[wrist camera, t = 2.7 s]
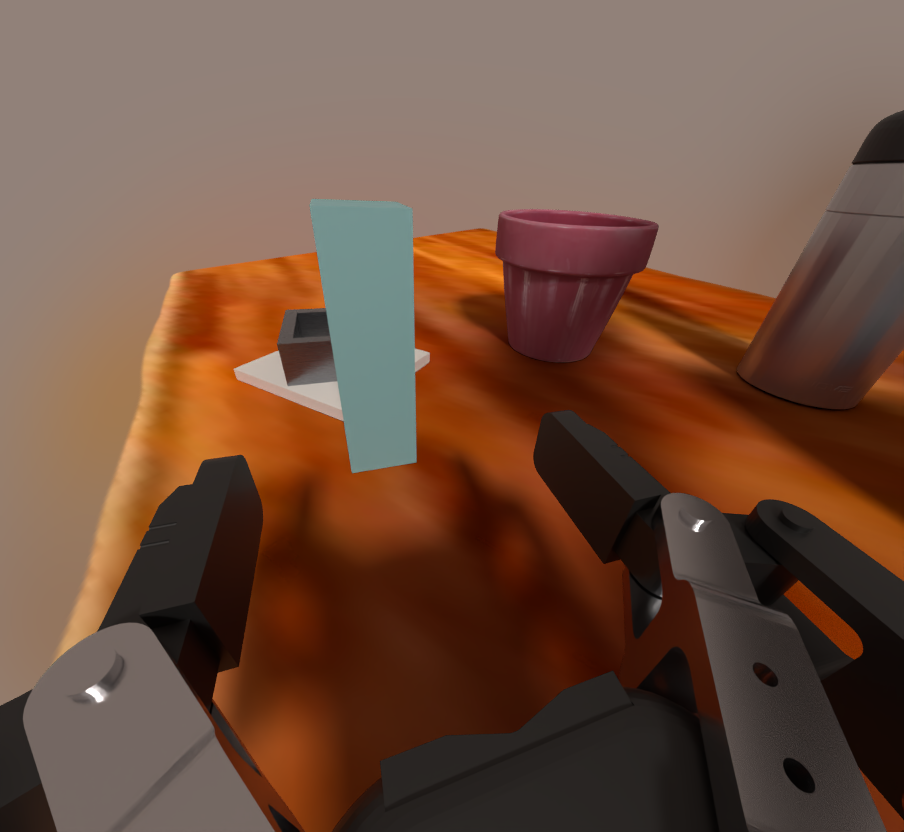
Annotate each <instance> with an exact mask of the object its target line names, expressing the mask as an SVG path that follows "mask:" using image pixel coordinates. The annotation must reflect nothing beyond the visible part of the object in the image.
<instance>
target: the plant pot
mask: <svg viewBox="0 0 904 832" xmlns="http://www.w3.org/2000/svg"><path fill="white" fill-rule="evenodd" d="M657 231H658V224H657V223H655V222H651V221H647V220H642V219H636V218H630V217H624V216H617V215H609V214H601V213H591V212H580V211H563V210H540V209H538V210H537V209H531V210H530V209H529V210H528V209H524V210H508V211H503V212H501V213H500V215H499V220H498V230H497V239H496V251H495V252H496V256H497V257H498V258H499V259H501V260H502V261H503V272H504V291H505V305H506V316H507V327H508V340H509V344H510V346H511V347H512V348H513V349H514V350H516V351H517V352H519V353H521V354H523V355H525V356H528V357H531V358H534V359H538V360H543V361H549V362H572V361H578V360H581V359H583V358H585V357H587V356H588V355H589V354H590V352H591V350H592V349H593V347H594V345H595V343H596V342H597V340H598V338H599V336H600V335H601V333H602V331H603V330H604V328H605V326H606V324H607V322H608V321H609V319H610V317H611V315H612V314H613V312H614V310H615V308H616V306H617V304H618V302H619V301H620V299H621V297H622V295H623V293H624V291H625V289H626V287H627V285H628V283H629V281H630V279H631V278H632V276H633V274H635V273H639V272H641V271H643V270H644V269H645V267H646V265H647V262H648V259H649V257H650V254H651V251H652V248H653V245H654V241H655V238H656V235H657Z"/></svg>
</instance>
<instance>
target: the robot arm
mask: <svg viewBox="0 0 904 832" xmlns="http://www.w3.org/2000/svg"><path fill="white" fill-rule="evenodd" d="M852 164H853V165H851V166H850V167H849V169H848V171H847V173H846V175H845V177H844V178H843V180H842V182H841V184H840V185H839V187H838V189H837V191H836V192H835V194H834V196H833V198H832V199H831V201H830V203H829V205H828V207H827V208H826V211H825V213H824V214H823V216H822V218H821V220H820V221H819V223H818V225H817V227H816V229H815V230H814V232H813V234H812V236H811V237H810V239H809V241H808V243H807V245H806V246H805V248H804V250H803V252H802V253H801V255H800V257H799V259H798V261H797V262H796V264H795V266H794V268H793V269H792V271H791V273H790V275H789V277H788V278H787V280H786V282H785V284H784V286H783V287H782V289H781V291H780V293H779V295H778V296H777V298H776V300H775V302H774V303H773V305H772V307H771V309H770V310H769V312H768V314H767V316H766V318H765V319H764V321H763V323H762V325H761V326H760V328H759V330H758V331H757V333H756V335H755V337H754V338H753V340H752V342H751V344H750V346H749V347H748V349H747V351H746V353H745V355H744V356H743V358H742V360H741V362H740V364H739V365H738V367H737V372H738V374H739V375H740V376H741V377H742V378H743V379H744V380H746V381H747V382H748V383H750V384H752V385H754V386H755V387H757V388H759V389H761V390H764V391H766V392H768V393H770V394H773V395H776V396H778V397H781V398H784V399H787V400H790V401H793V402H797V403H801V404H805V405H809V406H815V407H820V408H828V409H849V408H853V407H855V406H856V405H857V404H858V403H859V402H860V401H861V399H862V398H863V397H864V396H865V395H866V393H867V392H868V391H869V390H870V389H871V387H872V386H873V385H874V384H875V383H876V381H877V380H878V379H879V378H880V377H881V375H882V374H883V373H884V372H885V370H886V369H887V368H888V367H889V366H890V365H891V364H892V363H893V361H894V360H895V359H896V358H897V357H898V355H899V354H900V353H901V352H902V350H903V349H904V111H901V112H897V113H895V114H893V115H890V116H888V117H886V118H884V119H883V120H881V121H880V122H879V123H878V124H876V126H875V127H874V128H873V129H872V130H871V132H870V133H869V134H868V136H867V137H866V139H865V141H864V142H863V144H862V146H861V148H860V150H859V151H858V153H857V155H856V157H855V158H854V160H853V162H852ZM533 458H534V465H535V468H536V470H537V472H538V474H539V475H540V476H541V478H542V479H543V481H544V482H545V483H546V485H547V486H548V488H549V489H550V490H551V492H552V493H553V494H554V496H555V497H556V499H557V500H558V501H559V503H560V504H561V506H562V507H563V508H564V510H565V511H566V512H567V514H568V515H569V517H570V518H571V519H572V521H573V522H574V523H575V525H576V526H577V528H578V529H579V530H580V532H581V533H582V535H583V536H584V537H585V539H586V540H587V541H588V543H589V544H590V546H591V547H592V548H593V550H594V551H595V553H596V554H597V555H598V557H599V558H600V559H601V561H602V562H603V564H606V563H609V562H612V561H616V560H619V559H621V560H622V562H623V563H624V564H625V567H624V569H623V573H622V580H623V602H624V623H625V652H624V657H623V660H622V663H621V668H620V675H619V680H618V678H617V677H616V675H615V673H614V672H613V671H611V672H608V673H605V674H603V675H600V676H598V677H595V678H593V679H590V680H587V681H585V682H582V683H580V684H577V685H575V686H572V687H569V688H567V689H564V690H563V691H562V692H561V693H560V694H558V695H557V696H556V697H555V698H554V699H553V700H552V701H551V702H550V703H548V704H547V705H546V706H545V707H544V708H543V709H542V710H541V711H540V712H538V713H537V714H536V715H535V716H534V717H533V718H532V719H531V720H529V721H528V722H527V723H526V724H525V725H524V726H523V727H522V728H521V729H519V730H518V731H516V732H513V733H505V734H475V735H446V736H443V737H441V738H438V739H436V740H433V741H431V742H428V743H425V744H423V745H420V746H418V747H415V748H413V749H410V750H407V751H405V752H402V753H400V754H397V755H395V756H392V757H389V758H387V759H384V760H382V761H380V765H381V775H382V777H381V778H380V779H379V780H378V781H377V782H375V783H374V784H373V785H372V786H371V787H369V788H368V789H367V790H366V791H365V792H364V793H363V794H362V795H361V796H360V797H359V798H358V799H357V800H356V801H355V802H354V804H353V805H352V806H351V807H350V808H349V810H348V811H347V812H346V813H345V815H344V816H343V817H342V818H341V820H340V821H339V822H338V824H337V825H336V826H335V828H334V830H333V831H332V832H887V831H886V829H885V827H884V824H883V822H882V820H881V818H880V815H879V813H878V811H877V809H876V806H875V804H874V802H873V799H872V797H871V795H870V793H869V790H868V788H867V786H866V784H865V781H864V779H863V777H862V774H861V772H860V770H861V771H862V772H863V773H864V774H865V775H866V777H867V778H868V779H869V780H870V781H871V782H872V784H873V785H874V786H875V787H876V788H877V789H878V791H879V792H880V793H881V794H882V795H883V796H884V798H885V799H886V800H887V801H888V802H889V803H890V805H891V806H892V807H893V808H894V809H895V810H896V811H897V813H898V814H899V815H900V816H901V817H902V818H903V820H904V581H902V580H901V579H900V578H898V577H897V576H896V575H894V574H893V573H891V572H890V571H889V570H887V569H886V568H885V567H883V566H882V565H881V564H879V563H878V562H876V561H875V560H874V559H872V558H871V557H870V556H868V555H867V554H866V553H864V552H863V551H861V550H860V549H859V548H857V547H856V546H855V545H853V544H852V543H851V542H849V541H848V540H846V539H845V538H844V537H842V536H841V535H840V534H838V533H837V532H836V531H834V530H833V529H831V528H830V527H829V526H827V525H826V524H825V523H823V522H822V521H820V520H819V519H818V518H816V517H815V516H813V515H812V514H810V513H809V512H807V511H805V510H803V509H801V508H799V507H797V506H795V505H792V504H789V503H786V502H783V501H779V500H763V501H760V502H759V503H758V504H757V505H756V507H755V508H754V509H753V511H752V512H751V513H750V514H749V515H742V514H729V513H721V512H720V511H719V510H718V509H717V508H715V507H714V506H712V505H711V504H709V503H708V502H706V501H704V500H702V499H700V498H698V497H695V496H692V495H689V494H684V493H670V492H669V491H668V490H667V489H665V488H664V487H663V486H662V485H661V484H660V483H659V482H658V481H657V480H656V479H655V478H653V477H652V476H651V475H650V474H649V473H648V472H647V471H646V470H645V469H644V468H643V467H641V466H640V465H639V464H638V463H637V462H636V461H635V460H634V459H633V458H632V457H628V454H627V453H626V452H625V451H624V450H623V449H622V448H621V447H618V446H617V444H616V443H615V442H614V441H613V440H612V439H611V438H610V437H609V436H608V435H606V434H605V433H604V432H602V431H600V430H598V429H597V428H595V427H593V426H591V425H589V424H586V423H585V422H584V421H583V420H582V419H581V418H580V417H579V416H578V415H577V414H576V413H574V412H573V411H571V410H564V411H557V412H550V413H546V414H544V415H543V417H542V420H541V424H540V428H539V432H538V436H537V441H536V445H535V449H534V456H533ZM262 525H263V509H262V503H261V500H260V497H259V494H258V491H257V489H256V486H255V483H254V480H253V478H252V475H251V472H250V470H249V467H248V464H247V462H246V459H245V458H244V456H242V455H236V456H229V457H222V458H215V459H208V460H204V461H203V462H202V464H201V466H200V468H199V470H198V473H197V475H196V478H195V480H194V482H193V484H191V485H184V486H179V487H178V488H177V489H176V490H175V491H174V492H173V493H172V494H171V495H170V496H169V497H168V498H167V499H166V500H165V501H164V502H163V503H161V504H160V505H159V507H158V509H157V511H156V513H155V515H154V517H153V520H152V522H151V524H150V526H149V531H147V532H146V534H145V536H144V538H143V540H142V542H141V544H140V546H141V548H140V549H139V550H137V552H136V554H135V556H134V558H133V560H132V562H131V564H130V567H129V569H128V571H127V573H126V575H125V577H124V579H123V581H122V583H121V585H120V587H119V589H118V591H117V593H116V595H115V597H114V599H113V601H112V603H111V605H110V607H109V609H108V611H107V614H106V616H105V618H104V620H103V622H102V624H101V625H100V627H99V629H98V631H97V632H96V633H94V634H92V635H90V636H88V637H87V638H85V639H83V640H82V641H80V642H79V643H77V644H76V645H74V646H73V647H72V648H70V649H69V650H68V651H66V652H65V653H64V654H63V655H62V656H61V657H59V658H58V659H57V660H56V661H55V662H54V663H53V664H52V665H51V666H50V667H49V668H48V670H47V671H46V672H45V673H44V674H43V675H42V677H41V678H40V679H39V681H38V682H37V684H36V685H35V687H34V688H33V689H32V690H30V691H28V692H26V693H25V694H23V695H21V696H19V697H17V698H15V699H13V700H11V701H9V702H7V703H5V704H3V705H1V706H0V832H305V831H304V829H303V828H302V826H301V825H300V823H299V822H298V820H297V819H296V818H295V816H294V815H293V813H292V812H291V810H290V809H289V808H288V806H287V805H286V804H285V802H284V801H283V799H282V798H281V797H280V796H279V794H278V793H277V792H276V790H275V789H274V788H273V787H272V785H271V784H270V783H269V781H268V780H267V778H266V777H265V775H264V774H263V773H262V771H261V770H260V768H259V767H258V765H257V764H256V762H255V761H254V759H253V758H252V756H251V755H250V753H249V752H248V750H247V749H246V747H245V746H244V744H243V743H242V741H241V740H240V739H239V737H238V736H237V734H236V733H235V731H234V730H233V728H232V727H231V725H230V724H229V722H228V721H227V719H226V718H225V716H224V715H223V713H222V712H221V710H220V709H219V707H218V706H217V704H216V703H215V701H214V700H213V699H212V697H213V693H214V688H215V683H216V678H217V673H218V672H222V671H225V670H229V669H232V668H236V667H239V662H240V656H241V650H242V644H243V638H244V632H245V626H246V620H247V614H248V608H249V602H250V597H251V591H252V585H253V579H254V573H255V567H256V561H257V555H258V549H259V543H260V537H261V531H262ZM798 580H799V581H800V582H802V583H803V584H804V585H805V586H806V587H807V588H808V589H809V590H810V591H812V592H813V593H814V594H815V595H816V596H817V597H818V598H819V599H820V600H822V601H823V602H824V603H825V604H826V605H827V606H828V607H829V608H830V609H832V610H833V611H834V612H835V613H836V614H837V615H838V616H839V617H840V618H842V619H843V620H844V621H845V622H846V623H847V624H848V625H849V626H850V627H851V628H852V629H853V630H854V631H855V632H856V633H857V634H858V636H859V637H860V639H861V641H862V644H863V653H862V655H861V656H860V657H858V658H857V659H855V660H854V659H852V658H850V657H849V656H847V655H846V654H845V653H844V652H842V651H841V650H840V649H839V648H838V647H837V646H836V645H835V644H834V643H833V642H832V641H831V640H830V639H829V638H828V637H827V636H826V635H825V634H824V633H823V632H822V631H821V630H820V629H819V628H818V627H817V626H815V625H814V624H813V623H812V622H811V621H810V620H809V619H808V618H807V617H806V616H805V615H804V614H803V613H802V612H801V611H800V610H799V609H798V608H797V607H796V606H795V605H794V604H793V603H792V602H791V601H790V600H789V599H788V598H787V597H785V596H784V595H783V594H784V593H785V592H786V591H787V590H788V589H789V588H791V587H792V586H793V585H794V584H795V583H796V582H797V581H798ZM858 767H859V768H860V770H859V768H858ZM901 832H904V830H902V831H901Z"/></svg>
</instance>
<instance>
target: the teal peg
mask: <svg viewBox="0 0 904 832" xmlns="http://www.w3.org/2000/svg"><path fill="white" fill-rule="evenodd" d="M310 211H311V218H312V224H313V230H314V237H315V242H316V249H317V256H318V262H319V268H320V275H321V281H322V287H323V294H324V300H325V306H326V313H327V319H328V325H329V331H330V338H331V344H332V350H333V357H334V363H335V369H336V376H337V382H338V388H339V395H340V401H341V407H342V413H343V420H344V426H345V432H346V439H347V445H348V451H349V458H350V464H351V470H352V473H356V472H362V471H368V470H374V469H380V468H386V467H392V466H398V465H404V464H410V463H416V403H415V341H414V279H413V219H412V218H413V216H412V208H410V207H407V206H405V205H403V204H400V203H398V202H387V201H386V202H385V201H356V200H328V199H327V200H326V199H312V200H311V203H310Z"/></svg>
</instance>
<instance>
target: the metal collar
mask: <svg viewBox="0 0 904 832" xmlns="http://www.w3.org/2000/svg"><path fill="white" fill-rule="evenodd" d="M277 346H278V350H279V354H280V358H281V362H282V366H283V370H284V374H285V378H286V382H287V386H295V385H305V384H315V383H326V382H336V381H337V376H336V369H335V363H334V357H333V350H332V344H331V338H330V331H329V325H328V319H327V313H326V308H321V309H299V310H286V311H285V315H284V319H283V323H282V327H281V331H280V335H279V339H278V343H277Z"/></svg>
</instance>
